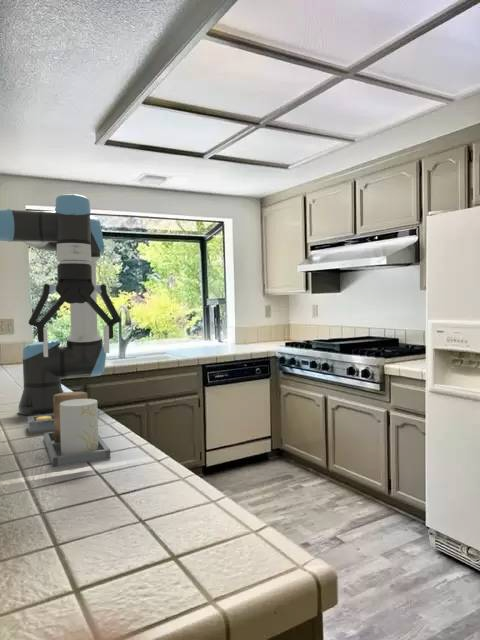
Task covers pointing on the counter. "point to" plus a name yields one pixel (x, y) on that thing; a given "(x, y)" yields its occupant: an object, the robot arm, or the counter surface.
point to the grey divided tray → (59, 460)
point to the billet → (56, 401)
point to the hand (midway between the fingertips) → (77, 354)
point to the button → (43, 418)
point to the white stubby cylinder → (78, 426)
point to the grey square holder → (40, 424)
